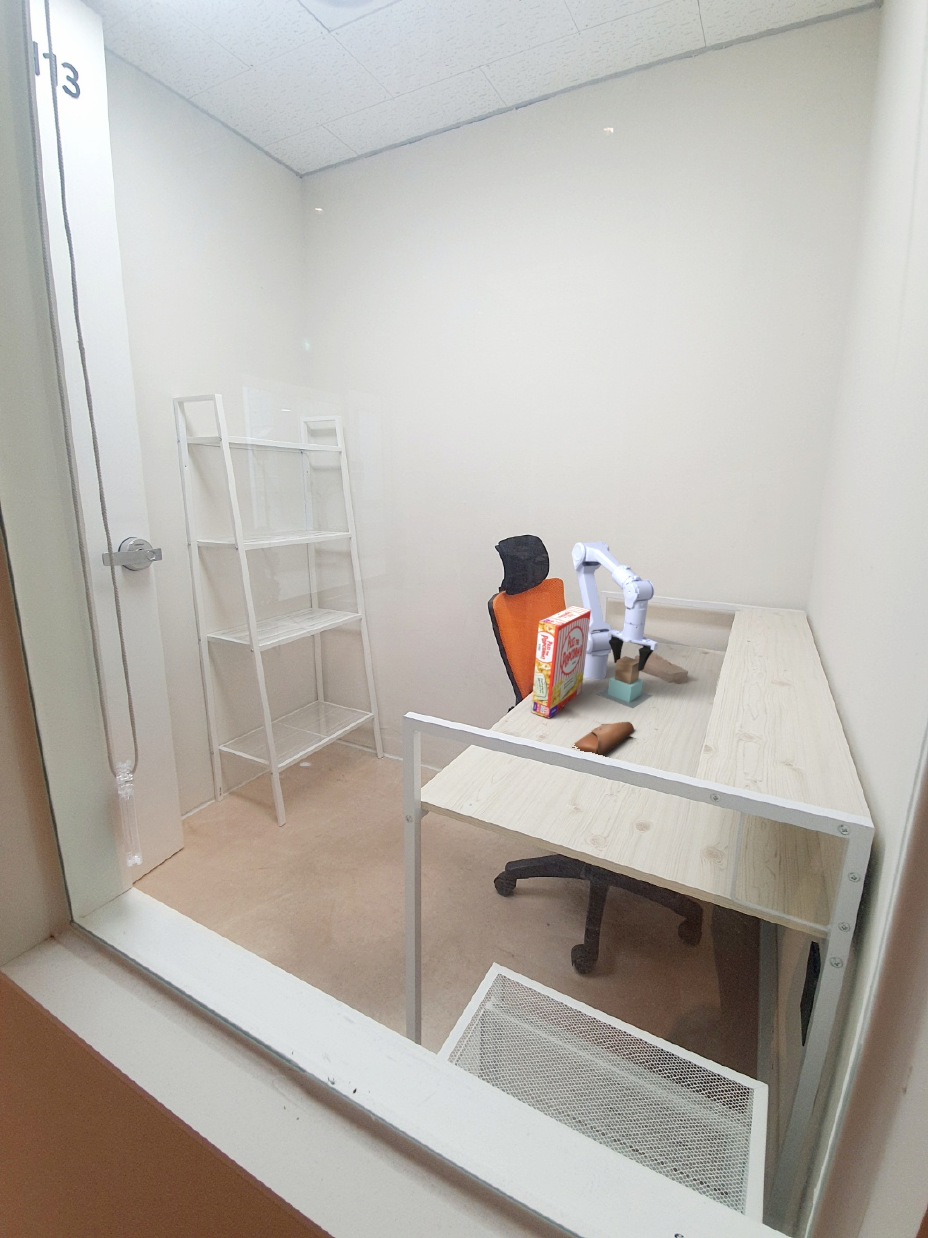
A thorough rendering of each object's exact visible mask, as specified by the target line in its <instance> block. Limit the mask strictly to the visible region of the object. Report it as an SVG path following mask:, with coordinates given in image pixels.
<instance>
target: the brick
mask: <svg viewBox="0 0 928 1238" xmlns="http://www.w3.org/2000/svg"><path fill="white" fill-rule="evenodd" d="M634 659H636V660H639V655H636V656H635V657H634ZM640 672H643V673H644V674H647V675H649V676H653V677H656V678H659V679H660V680H663V681H665V682H666V683H669V684H670V683H673V684H678V685H680V684H686V683H687V682H688V674H689V671H688V670H687V669H684V668H683V667H681V666H679V665H677V664H675V663H672V662H670V661H669V660H668V659H665V658H663V657H662V656H660V655H659V654H657V653H656V652H652V654H651V655H650V656H649V658H648V660H647V662H646V664H645V666H644V669H643V670H641V671H640ZM685 682H686V683H685Z"/></svg>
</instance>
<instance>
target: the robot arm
mask: <svg viewBox="0 0 928 1238" xmlns="http://www.w3.org/2000/svg"><path fill="white" fill-rule="evenodd" d="M571 557H572V563H573V567H574V570H575V572H576V576H577V577H576V578H577V581H578V586H579V593H580V596H581V602H582V608H586V609H590V610H591V614H590V623H589V631H588V640H587V649H586V657H585V666H584V675H583V677H586V678H587V679H592V680H603V679H606V676H607V671H608V670H607V669H608V660H609V654H610V653H612V655H613V661H614V662H613V663H615V664H616V663H617V660H619V659H621V658H622V651H623V650H622V649H623V645H624V643H630V644H635V645H637V646H640V647H641V648H638V656H639V665H638V671H639V672H642V671H641V670H643V669H644V666H645V664H646V662H647V660H648V658H649V656H650V655H651V654H652V653H654V651H655V650H657V649H658V645H659V643H658V641H655V640H652V639H650V638H648V637H645V636H644V633H645V626H646V619H647V613H648V605H649V601H650V600H652V599H653V597H654V594H655V587H654V584H653V583H652V582H651V580H650V579H644V578H641V577H640V575H638V574H636V572H635V571H633V570H632V568H631V566H630V565H627V564H620V562H619V561H618V559H617V558H616V557H615V556H613V554H612V553H611V551H610V546H609V545H608V544H606V542H605V541H602V540H601V541H588V542H587V541H586V542H585V541H584V542H581V541H579V542H576V543H575V544H574V546H573V549H572V550H571ZM601 566H602V567H604V568H605V569H606V570H607V571H609V573H611V580H612V581H613V582H614V583H615V584H616V585H617V586H618V587H619V588H620V589H621V590H622V594H623V597H624V606H625V610H624V611H625V612H624V619H623V620H624V621H623V628H622V630H617V629H612V626H611V625H610V624H609V623H608V622H606V621H605V620H604V617H603V612H602V611H603V610H602V607H601V601H600V597H599V592H598V587H597V582H596V577H595V572H596V571H597V570H598V569H599V568H600V567H601Z"/></svg>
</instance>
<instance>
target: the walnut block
mask: <svg viewBox="0 0 928 1238" xmlns="http://www.w3.org/2000/svg"><path fill="white" fill-rule="evenodd" d="M638 665H639V660H636V659H635V658H633V657H630V656H626V655H625V656H622V657H621V658H620V659H619V660H617V663H615V671H614V672H615V674H614V676H615V680H618V681H621V682H624V683H627V684H629V685H630V684H632V683H634V682H635V681H637V680H638V678H639V677H640V671H638ZM639 679H640V678H639Z"/></svg>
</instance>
